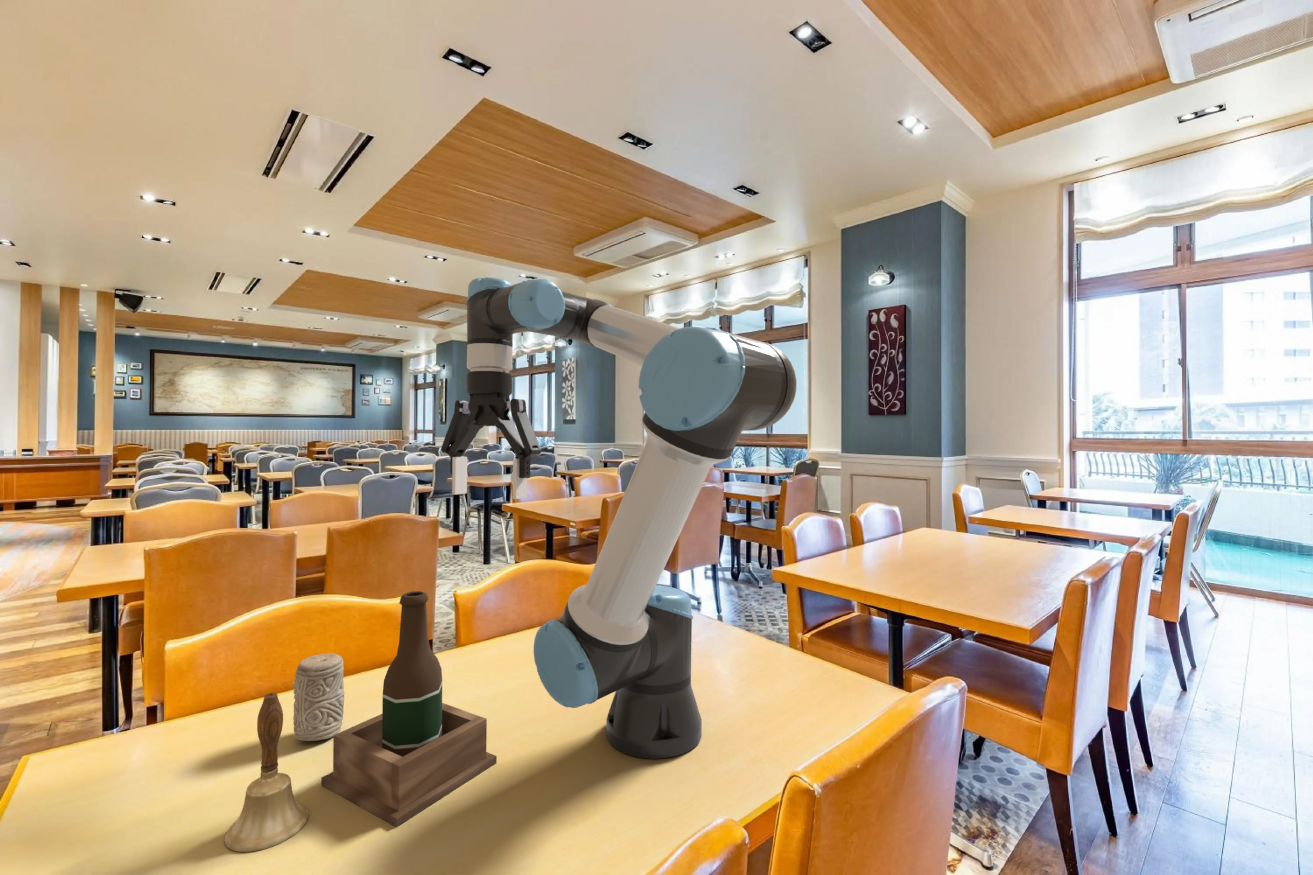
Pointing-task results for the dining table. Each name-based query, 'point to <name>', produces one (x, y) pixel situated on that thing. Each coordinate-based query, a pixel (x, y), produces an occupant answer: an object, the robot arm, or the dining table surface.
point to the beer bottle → (412, 684)
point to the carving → (318, 697)
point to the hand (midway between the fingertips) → (488, 496)
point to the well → (407, 766)
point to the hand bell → (267, 793)
